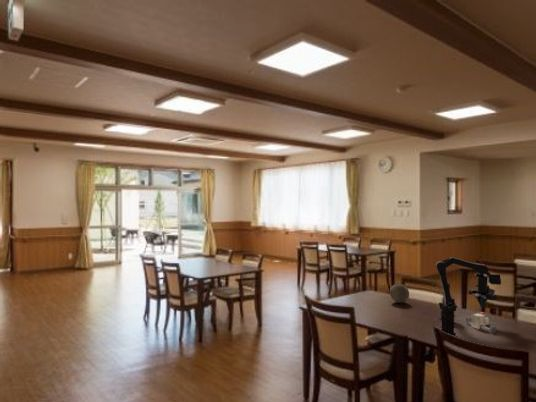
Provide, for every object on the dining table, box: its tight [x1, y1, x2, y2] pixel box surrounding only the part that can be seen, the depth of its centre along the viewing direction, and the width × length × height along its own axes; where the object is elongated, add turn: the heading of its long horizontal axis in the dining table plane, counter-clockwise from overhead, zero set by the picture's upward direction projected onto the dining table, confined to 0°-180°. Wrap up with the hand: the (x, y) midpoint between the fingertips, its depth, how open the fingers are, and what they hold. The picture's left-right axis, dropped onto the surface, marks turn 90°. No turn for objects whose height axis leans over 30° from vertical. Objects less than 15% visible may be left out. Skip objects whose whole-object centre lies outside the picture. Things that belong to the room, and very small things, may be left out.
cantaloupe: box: [389, 283, 410, 304], centre depth 316 cm, size 14×14×15 cm
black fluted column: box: [438, 302, 458, 338], centre depth 235 cm, size 8×8×20 cm
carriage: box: [471, 313, 487, 330], centre depth 256 cm, size 6×5×8 cm
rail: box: [465, 317, 497, 335], centre depth 254 cm, size 3×20×4 cm, turn 17°
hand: (482, 307), depth 264 cm, fingers closed
